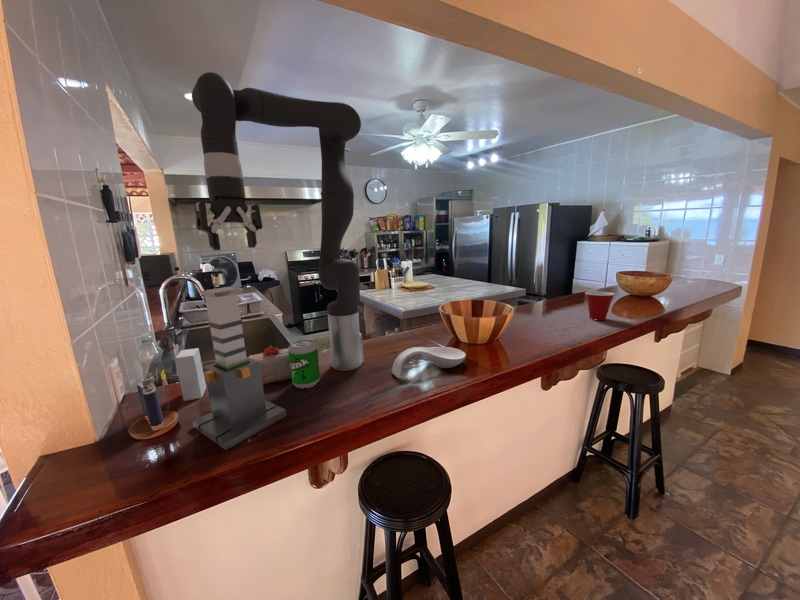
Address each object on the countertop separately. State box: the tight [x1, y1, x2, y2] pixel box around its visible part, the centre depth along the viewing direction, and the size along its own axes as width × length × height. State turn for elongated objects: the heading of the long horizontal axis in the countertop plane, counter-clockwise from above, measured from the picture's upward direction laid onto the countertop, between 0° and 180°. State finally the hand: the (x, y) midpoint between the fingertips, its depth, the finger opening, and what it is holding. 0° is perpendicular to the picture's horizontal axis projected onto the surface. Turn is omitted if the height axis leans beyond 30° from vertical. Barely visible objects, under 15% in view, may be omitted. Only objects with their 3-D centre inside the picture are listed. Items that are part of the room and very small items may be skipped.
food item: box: [248, 344, 292, 386], centre depth 92 cm, size 14×8×10 cm, turn 115°
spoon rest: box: [391, 346, 467, 379], centre depth 96 cm, size 24×12×7 cm, turn 117°
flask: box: [136, 377, 164, 427], centre depth 72 cm, size 9×3×11 cm, turn 48°
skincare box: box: [174, 347, 207, 402], centre depth 84 cm, size 6×4×12 cm
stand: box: [192, 356, 287, 451], centre depth 71 cm, size 14×14×14 cm
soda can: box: [287, 339, 321, 390], centre depth 88 cm, size 8×8×12 cm
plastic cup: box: [585, 291, 616, 321], centre depth 139 cm, size 11×11×12 cm
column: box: [201, 286, 248, 372], centre depth 68 cm, size 5×5×24 cm
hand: (235, 248), depth 76 cm, fingers open, 8 cm apart
